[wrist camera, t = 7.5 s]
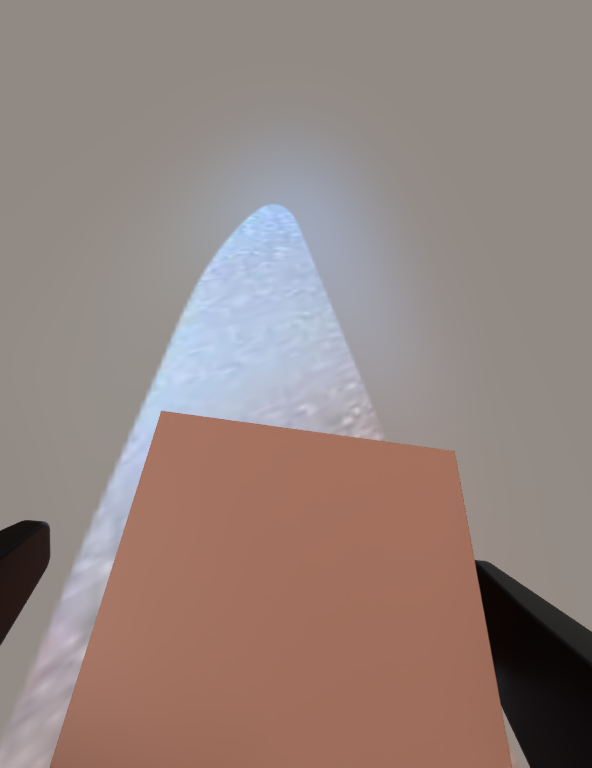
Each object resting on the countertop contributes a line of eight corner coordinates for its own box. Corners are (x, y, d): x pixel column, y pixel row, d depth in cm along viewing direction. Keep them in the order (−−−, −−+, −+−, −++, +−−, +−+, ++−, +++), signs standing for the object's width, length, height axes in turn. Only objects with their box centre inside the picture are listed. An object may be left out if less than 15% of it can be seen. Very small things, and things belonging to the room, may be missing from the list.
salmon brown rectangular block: (291, 641, 13) (544, 946, 3) (188, 635, 12) (-18, 980, 2) (298, 531, 15) (454, 451, 5) (209, 522, 14) (160, 411, 4)
